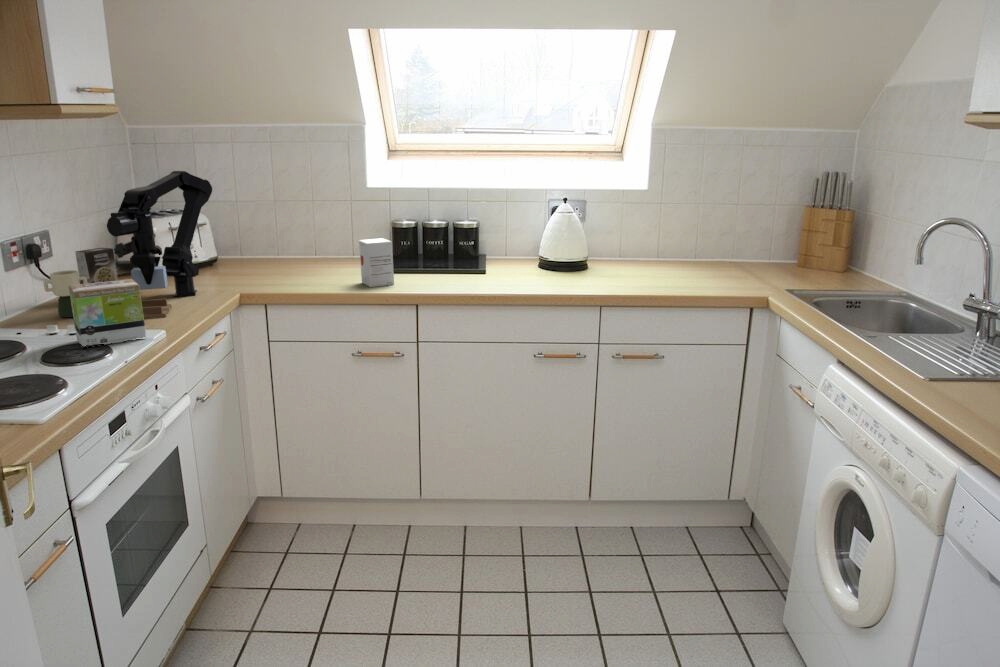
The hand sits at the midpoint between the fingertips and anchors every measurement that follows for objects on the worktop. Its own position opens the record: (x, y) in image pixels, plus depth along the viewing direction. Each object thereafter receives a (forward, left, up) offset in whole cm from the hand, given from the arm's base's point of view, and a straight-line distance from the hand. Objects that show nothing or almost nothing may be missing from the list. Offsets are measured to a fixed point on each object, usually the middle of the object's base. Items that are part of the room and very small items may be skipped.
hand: (150, 282), depth 228 cm
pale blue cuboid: (0, 0, -2) cm, 2 cm away
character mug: (+9, -21, -7) cm, 24 cm away
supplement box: (-7, +70, -7) cm, 71 cm away
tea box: (+40, -4, -7) cm, 41 cm away
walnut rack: (+13, -1, -7) cm, 15 cm away
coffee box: (-12, -17, -7) cm, 22 cm away
